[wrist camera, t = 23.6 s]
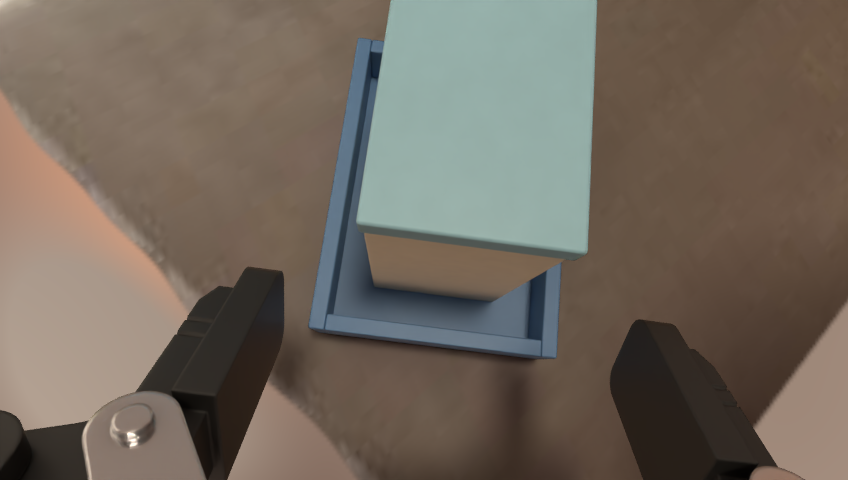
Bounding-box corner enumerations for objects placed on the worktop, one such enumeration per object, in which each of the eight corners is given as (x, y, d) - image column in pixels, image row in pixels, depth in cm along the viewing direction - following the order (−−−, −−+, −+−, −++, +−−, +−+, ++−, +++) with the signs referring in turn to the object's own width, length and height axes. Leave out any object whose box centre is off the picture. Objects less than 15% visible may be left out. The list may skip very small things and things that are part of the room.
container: (510, 126, 23) (600, -50, 13) (495, 304, 21) (588, 254, 11) (397, 110, 23) (403, -81, 13) (370, 289, 21) (354, 223, 11)
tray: (552, 99, 24) (571, 68, 21) (536, 359, 21) (556, 358, 18) (361, 71, 24) (358, 36, 21) (317, 332, 21) (307, 327, 18)
